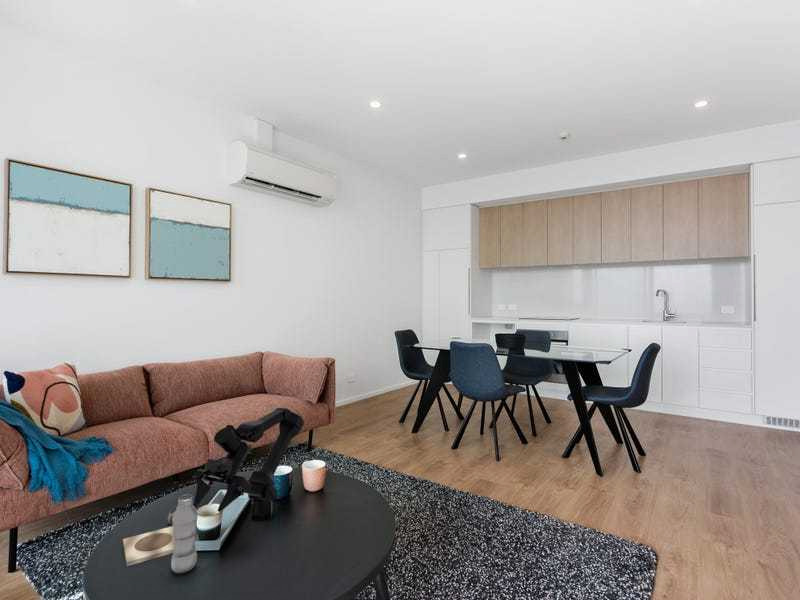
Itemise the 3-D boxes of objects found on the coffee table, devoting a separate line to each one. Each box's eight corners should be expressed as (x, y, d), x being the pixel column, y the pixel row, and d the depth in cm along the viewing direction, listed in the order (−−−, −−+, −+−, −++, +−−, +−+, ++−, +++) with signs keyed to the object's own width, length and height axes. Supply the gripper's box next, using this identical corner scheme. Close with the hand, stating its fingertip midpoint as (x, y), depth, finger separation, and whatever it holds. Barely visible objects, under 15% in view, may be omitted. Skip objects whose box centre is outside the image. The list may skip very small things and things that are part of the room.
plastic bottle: (201, 563, 121) (203, 492, 122) (187, 577, 115) (189, 503, 115) (180, 561, 122) (182, 491, 123) (165, 576, 115) (167, 502, 116)
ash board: (176, 528, 140) (176, 524, 140) (185, 549, 128) (185, 544, 128) (123, 542, 131) (123, 538, 131) (126, 566, 119) (126, 561, 119)
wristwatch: (166, 523, 144) (166, 508, 144) (184, 517, 148) (185, 502, 149) (169, 527, 141) (170, 511, 142) (189, 520, 146) (189, 505, 146)
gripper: (198, 443, 135) (167, 492, 124) (245, 450, 128) (217, 502, 117) (216, 460, 142) (188, 507, 131) (261, 468, 135) (236, 518, 125)
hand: (206, 508), depth 126 cm, fingers open, 9 cm apart
